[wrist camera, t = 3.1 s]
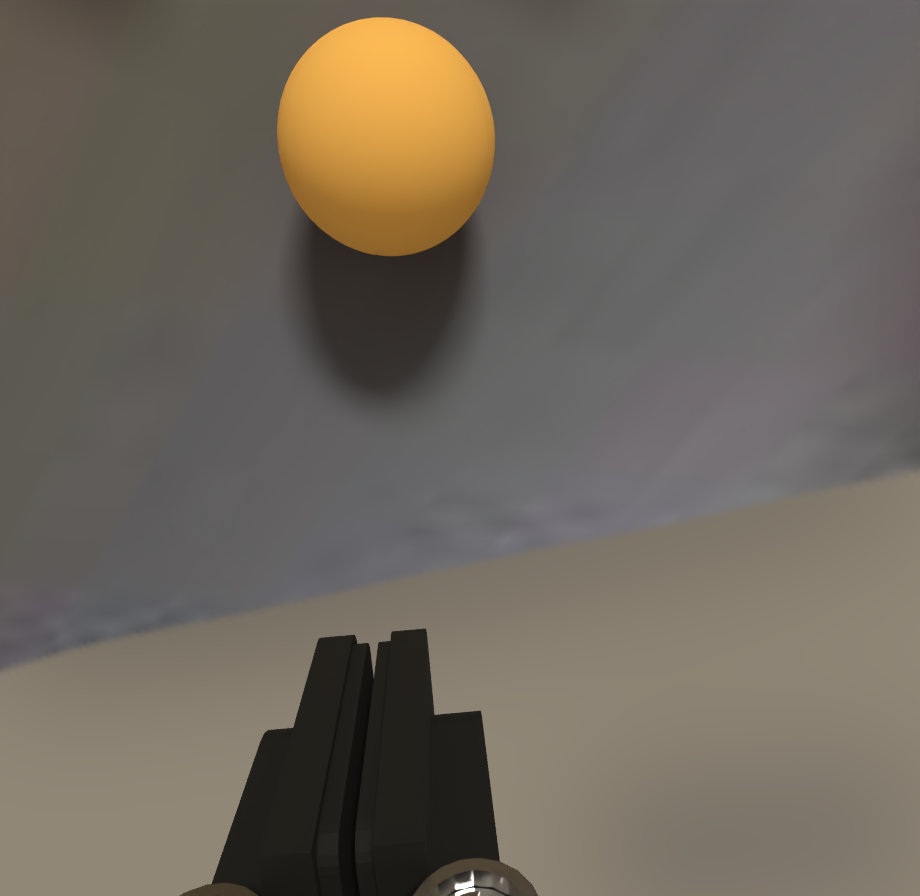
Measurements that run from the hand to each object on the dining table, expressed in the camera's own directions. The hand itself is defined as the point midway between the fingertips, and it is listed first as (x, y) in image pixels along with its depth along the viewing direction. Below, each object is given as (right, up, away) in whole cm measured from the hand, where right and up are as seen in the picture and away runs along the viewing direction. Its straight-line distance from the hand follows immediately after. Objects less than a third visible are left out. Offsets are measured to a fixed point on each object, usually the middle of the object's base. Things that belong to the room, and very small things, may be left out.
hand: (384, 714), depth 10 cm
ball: (-1, +13, +8) cm, 15 cm away
